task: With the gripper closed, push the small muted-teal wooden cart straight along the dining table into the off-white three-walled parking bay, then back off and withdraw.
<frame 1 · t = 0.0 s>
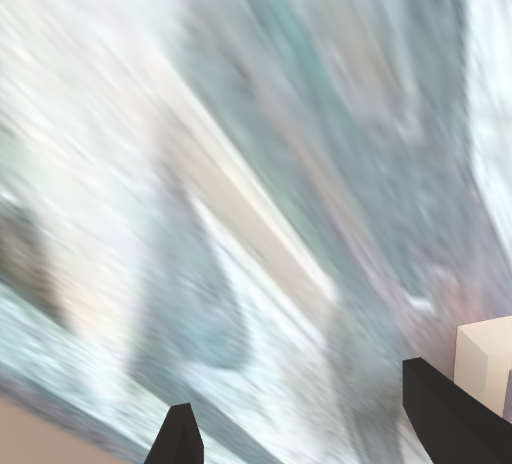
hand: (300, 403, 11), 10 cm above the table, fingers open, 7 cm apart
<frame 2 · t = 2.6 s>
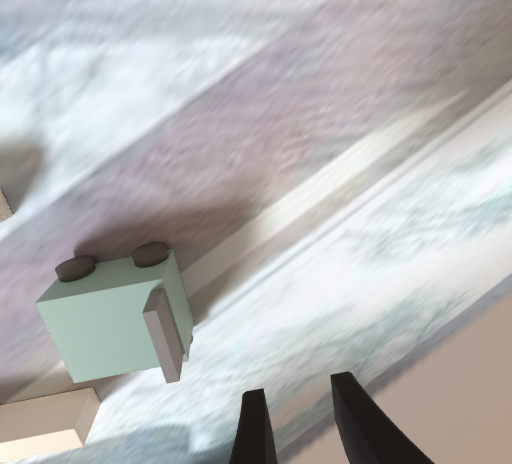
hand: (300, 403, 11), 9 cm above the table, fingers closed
cart: (133, 295, 20), on the table
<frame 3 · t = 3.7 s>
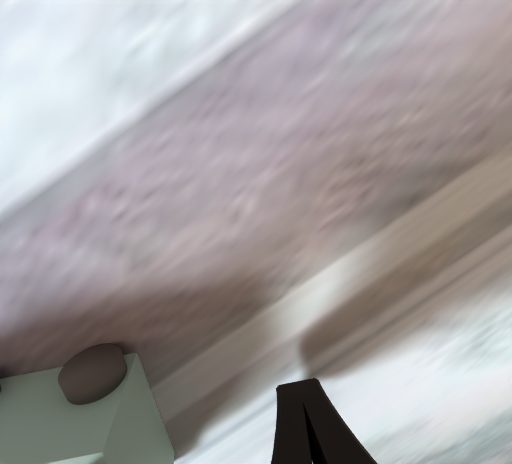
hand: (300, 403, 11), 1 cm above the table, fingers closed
cart: (75, 421, 12), on the table
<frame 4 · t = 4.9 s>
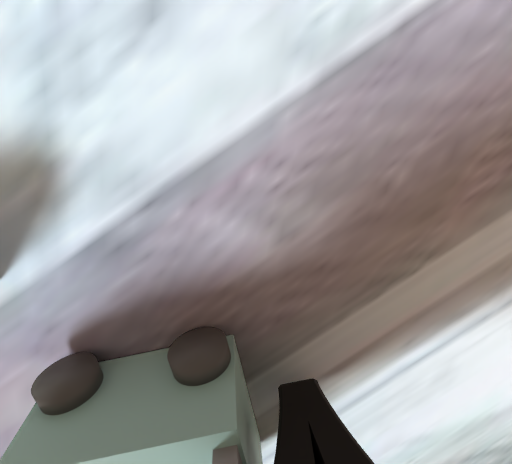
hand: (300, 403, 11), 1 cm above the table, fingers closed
cart: (165, 406, 12), on the table, touching gripper
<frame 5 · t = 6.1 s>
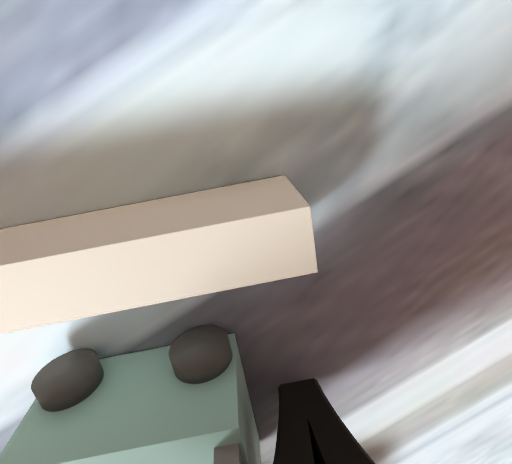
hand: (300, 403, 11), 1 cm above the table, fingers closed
cart: (165, 404, 12), on the table, touching gripper
bay: (94, 420, 12), on the table
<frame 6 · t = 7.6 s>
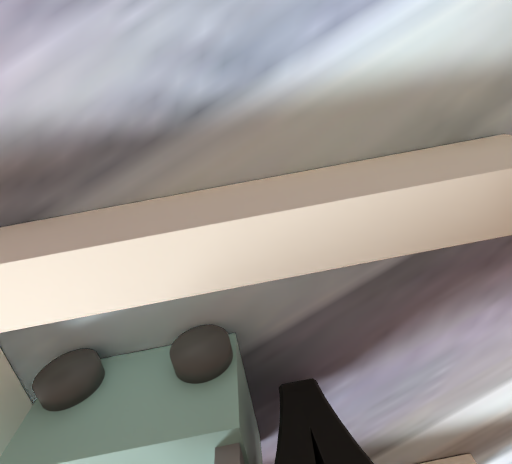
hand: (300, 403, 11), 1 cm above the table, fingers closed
cart: (166, 404, 12), on the table, touching gripper
bay: (266, 385, 12), on the table
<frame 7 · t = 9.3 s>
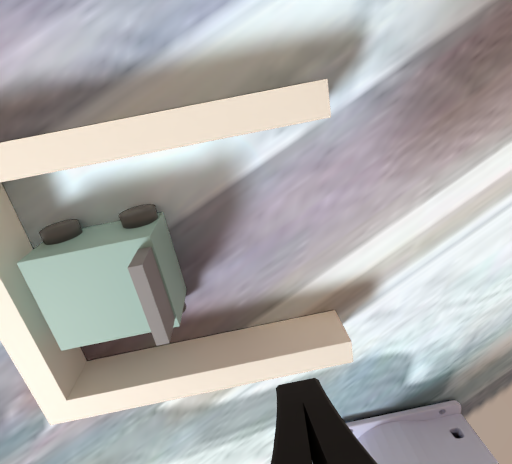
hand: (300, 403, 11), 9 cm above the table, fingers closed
cart: (123, 263, 19), on the table
bay: (187, 251, 19), on the table
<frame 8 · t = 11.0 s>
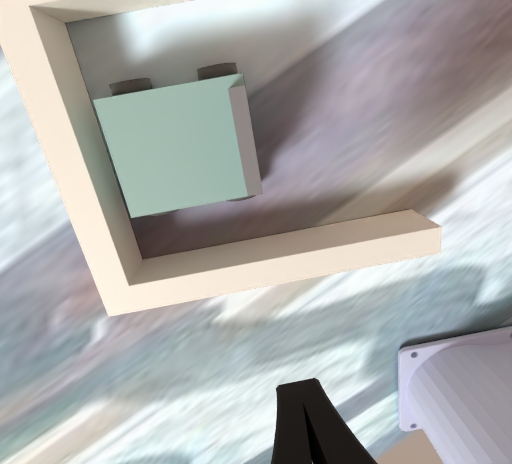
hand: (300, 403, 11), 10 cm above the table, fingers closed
cart: (191, 140, 18), on the table
bay: (261, 128, 18), on the table
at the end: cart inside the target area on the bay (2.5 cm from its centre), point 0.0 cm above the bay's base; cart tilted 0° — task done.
